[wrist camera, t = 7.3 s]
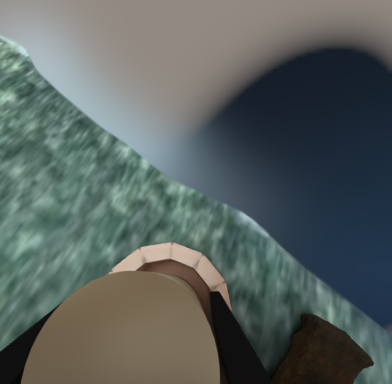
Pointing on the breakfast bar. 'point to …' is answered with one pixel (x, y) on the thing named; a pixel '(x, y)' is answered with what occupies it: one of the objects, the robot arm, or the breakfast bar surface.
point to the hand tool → (321, 355)
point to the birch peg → (126, 335)
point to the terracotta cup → (178, 268)
